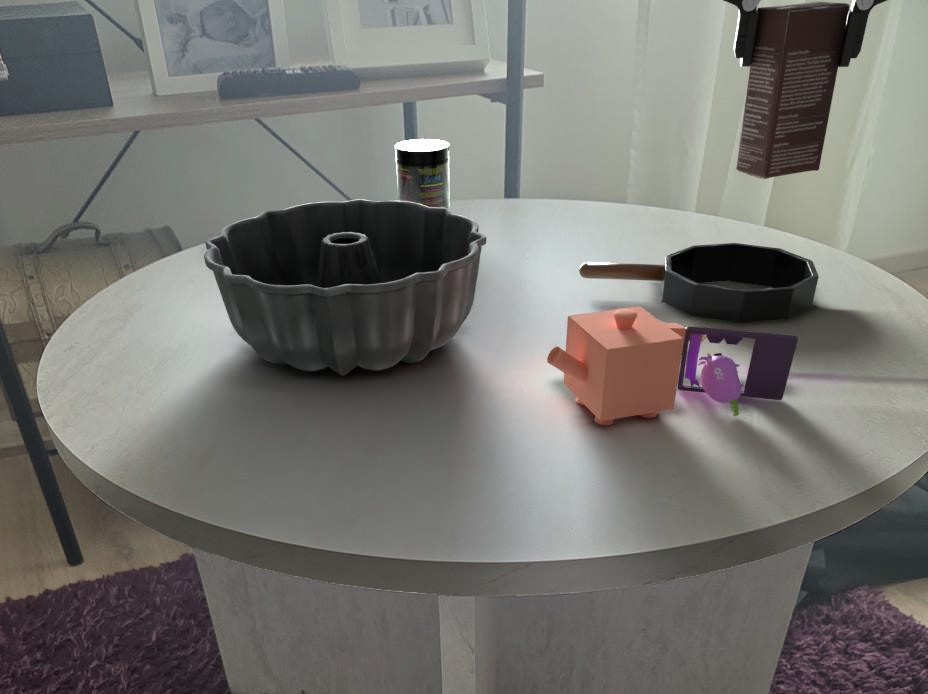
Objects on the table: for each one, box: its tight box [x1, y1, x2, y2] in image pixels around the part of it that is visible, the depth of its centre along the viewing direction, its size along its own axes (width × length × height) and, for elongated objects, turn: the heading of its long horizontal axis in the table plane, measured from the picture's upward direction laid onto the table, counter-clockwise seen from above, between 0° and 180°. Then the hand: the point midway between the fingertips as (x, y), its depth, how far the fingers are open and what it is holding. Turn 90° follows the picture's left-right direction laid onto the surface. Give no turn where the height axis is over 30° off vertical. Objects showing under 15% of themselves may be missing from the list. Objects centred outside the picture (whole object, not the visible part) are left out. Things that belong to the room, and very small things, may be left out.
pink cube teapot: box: [546, 305, 686, 426], centre depth 76 cm, size 8×12×8 cm, turn 107°
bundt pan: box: [203, 198, 487, 376], centre depth 89 cm, size 26×26×10 cm
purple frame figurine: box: [677, 325, 799, 417], centre depth 77 cm, size 7×5×9 cm
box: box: [735, 1, 851, 180], centre depth 76 cm, size 6×4×12 cm
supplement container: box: [394, 138, 451, 210], centre depth 116 cm, size 7×7×10 cm
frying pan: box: [578, 242, 820, 324], centre depth 97 cm, size 24×16×4 cm, turn 80°
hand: (793, 65), depth 75 cm, fingers closed on box, 7 cm apart
